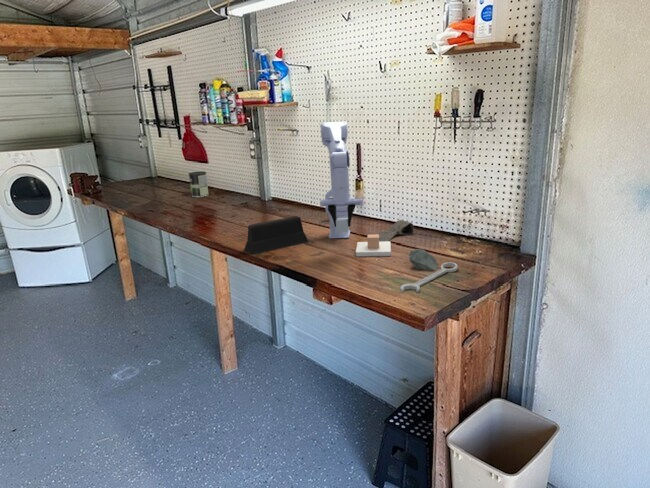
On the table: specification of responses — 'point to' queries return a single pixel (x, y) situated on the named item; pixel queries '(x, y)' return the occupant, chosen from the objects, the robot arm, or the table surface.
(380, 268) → the table surface
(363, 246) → the base board
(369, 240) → the terracotta block
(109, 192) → the table surface
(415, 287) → the wrench
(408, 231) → the axe head
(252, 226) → the barrier
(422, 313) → the table surface
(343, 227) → the grey blue block
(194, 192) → the coffee can
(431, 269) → the stone
